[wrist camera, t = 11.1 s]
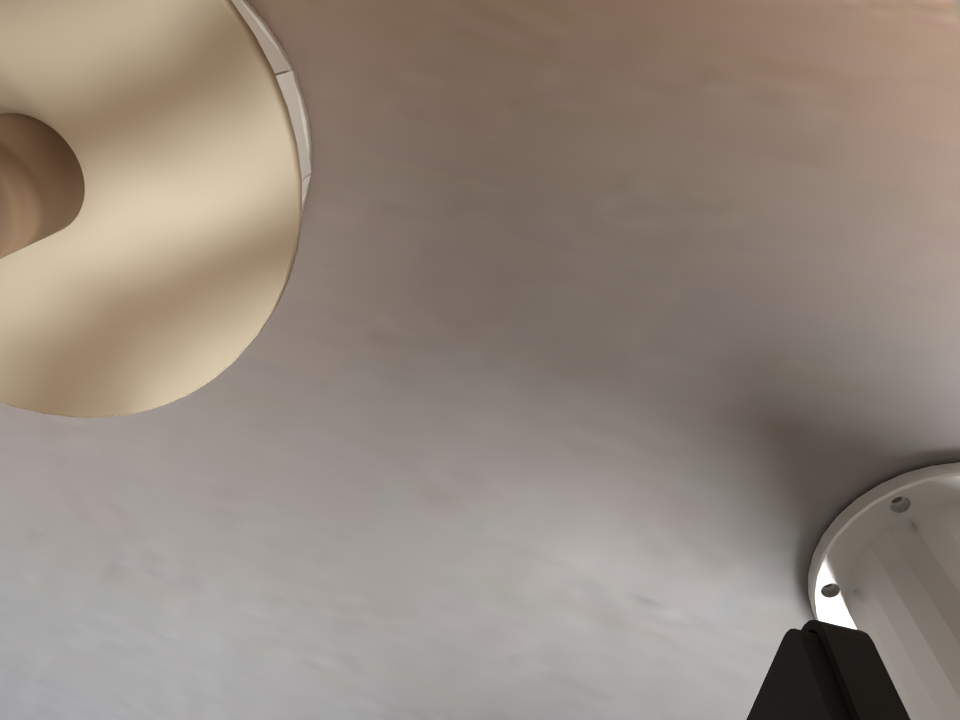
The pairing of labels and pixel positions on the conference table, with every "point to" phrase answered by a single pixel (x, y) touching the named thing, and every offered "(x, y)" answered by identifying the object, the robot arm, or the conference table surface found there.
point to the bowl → (284, 88)
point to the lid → (137, 200)
